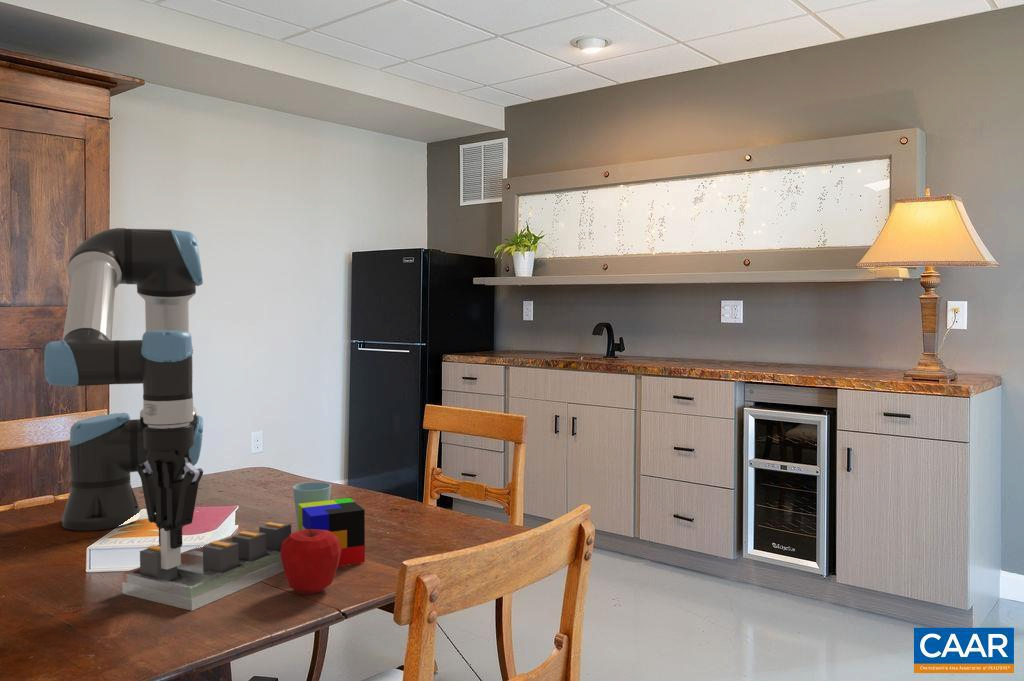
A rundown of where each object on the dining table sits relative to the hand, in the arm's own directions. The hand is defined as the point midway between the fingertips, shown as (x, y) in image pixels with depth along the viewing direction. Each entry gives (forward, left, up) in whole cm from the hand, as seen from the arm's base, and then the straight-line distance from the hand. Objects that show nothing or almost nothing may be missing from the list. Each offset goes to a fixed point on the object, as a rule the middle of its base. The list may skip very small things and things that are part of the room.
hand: (171, 566), depth 130 cm
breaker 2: (+5, +6, -3) cm, 8 cm away
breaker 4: (+5, +19, -3) cm, 20 cm away
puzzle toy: (+12, +27, -5) cm, 29 cm away
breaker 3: (+5, +13, -3) cm, 14 cm away
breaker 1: (-3, 0, -3) cm, 4 cm away
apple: (+20, +12, -5) cm, 23 cm away
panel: (+1, +10, -5) cm, 11 cm away
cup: (-1, +37, -5) cm, 37 cm away
